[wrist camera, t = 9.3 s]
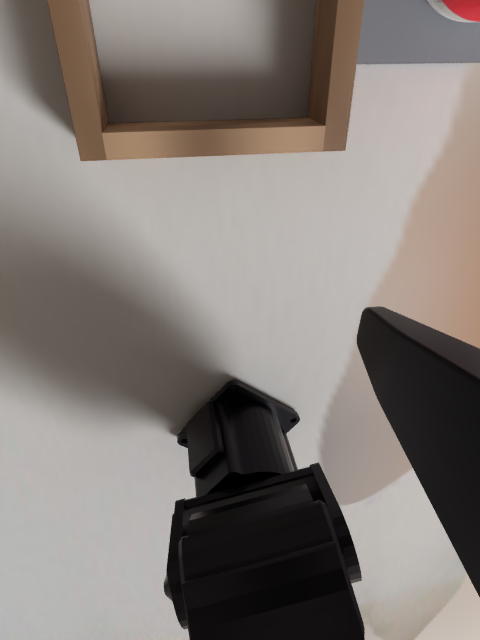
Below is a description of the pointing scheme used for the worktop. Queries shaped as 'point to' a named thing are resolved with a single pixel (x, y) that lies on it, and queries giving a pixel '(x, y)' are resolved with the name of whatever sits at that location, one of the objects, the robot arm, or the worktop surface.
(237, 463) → the robot arm
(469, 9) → the pill bottle
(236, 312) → the worktop surface
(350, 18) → the rack
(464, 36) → the mat
